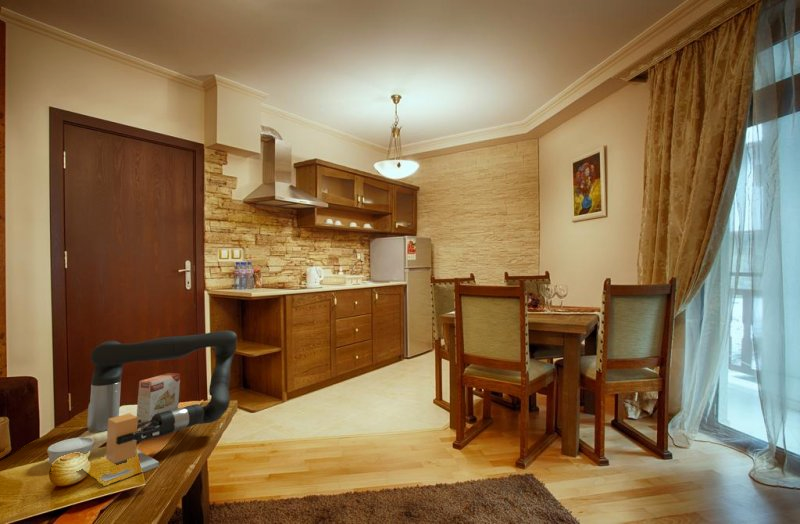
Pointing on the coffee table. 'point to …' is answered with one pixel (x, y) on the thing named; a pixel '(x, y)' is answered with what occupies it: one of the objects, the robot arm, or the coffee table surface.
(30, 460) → the coffee table surface
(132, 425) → the tan upright sponge
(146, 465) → the post stand
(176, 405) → the cracker box
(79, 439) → the ramekin
